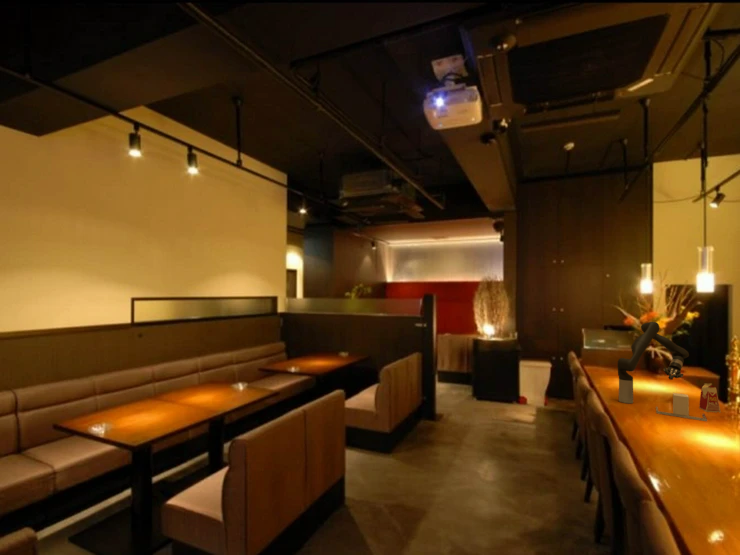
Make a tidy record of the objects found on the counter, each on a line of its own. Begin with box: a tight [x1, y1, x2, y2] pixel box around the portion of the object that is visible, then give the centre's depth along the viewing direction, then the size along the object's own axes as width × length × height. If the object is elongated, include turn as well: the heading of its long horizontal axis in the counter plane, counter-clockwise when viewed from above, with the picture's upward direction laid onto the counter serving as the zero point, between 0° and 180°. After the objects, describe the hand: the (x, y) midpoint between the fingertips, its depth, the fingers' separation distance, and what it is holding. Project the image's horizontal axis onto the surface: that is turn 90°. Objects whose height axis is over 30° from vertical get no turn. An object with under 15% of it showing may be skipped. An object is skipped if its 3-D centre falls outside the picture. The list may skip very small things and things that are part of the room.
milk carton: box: [698, 382, 722, 414], centre depth 281 cm, size 9×9×20 cm
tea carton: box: [672, 392, 690, 416], centre depth 269 cm, size 8×8×14 cm
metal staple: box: [655, 406, 708, 422], centre depth 270 cm, size 27×14×2 cm, turn 55°
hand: (670, 378), depth 293 cm, fingers closed
